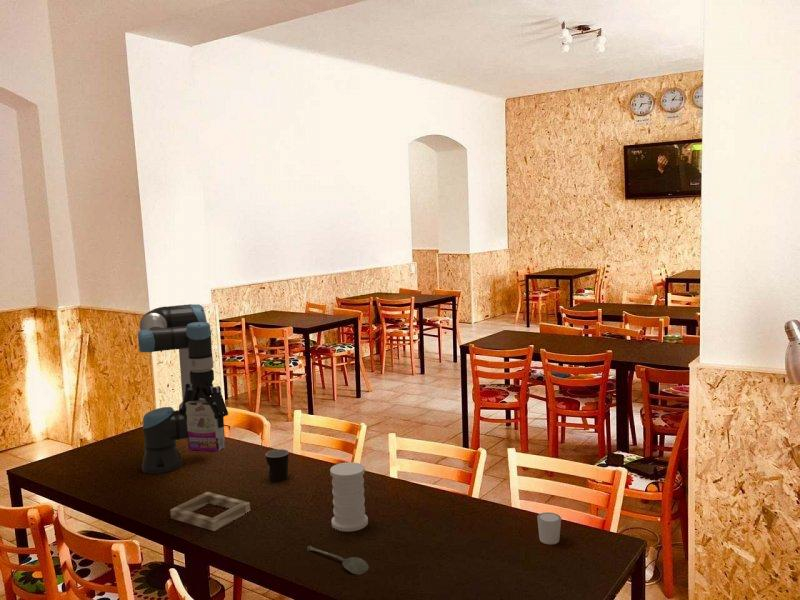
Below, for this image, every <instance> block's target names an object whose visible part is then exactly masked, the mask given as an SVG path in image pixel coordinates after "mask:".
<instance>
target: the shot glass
mask: <svg viewBox="0 0 800 600" xmlns="http://www.w3.org/2000/svg"><path fill="white" fill-rule="evenodd" d="M536 518H537V527H538V536H539V540H540V542H541V543H543V544H546V545H557V544H558V543H559V542H560V535H561V525H562V517H561V515H559V513H555V512H541V513H539V514H538V515H537V516H536Z"/></svg>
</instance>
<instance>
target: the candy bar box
mask: <svg viewBox="0 0 800 600" xmlns="http://www.w3.org/2000/svg"><path fill="white" fill-rule="evenodd" d="M213 405H214V406H215V407H216V403H213ZM185 409H186V420H187V433H188V438H187V444H188V451H189V452H201V453H203V452H207V453H219V452H221V451H223V450H224V449H226V438H225V437H226V436H225V426H224V427H223V433H224V436H222V437H220V438H216V434H215V420H214V418H216V416H215V414H214V412H213V410H212V409H211V407H210V405H209V403H208V402H207V401H206V400H196V401H188V402H186V403H185Z"/></svg>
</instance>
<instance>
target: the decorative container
mask: <svg viewBox="0 0 800 600" xmlns="http://www.w3.org/2000/svg"><path fill="white" fill-rule="evenodd" d="M365 472H366V468H365V465H364V464H362V463H359V462H353V461H352V462H340V463H337V464H334V465H332V466H331V468H330V471H329V474H330V476H331V477H332V479H331V485H332V490H331V491H332V492H331V493H332V496H333V499H332V504H333V509H332V510H333V511H332V513H333V515H334V516H333V517H332V518H331V519H330V520H331V528H332V529H334V528H335V529H334V530H336V529H337V530H336V531H338V530H339V532H343V533H344V532H345V533H346V532H347V533H348V532H349V533H350V532H356V531H360V530H363V529H364V528H366V527H367V526H368V524H369V518H368V515H367V514H366V507H365V502H366V498H365V491H366V490H365V487H364V484H365V483H364V482H365V479H364V474H365Z"/></svg>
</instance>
